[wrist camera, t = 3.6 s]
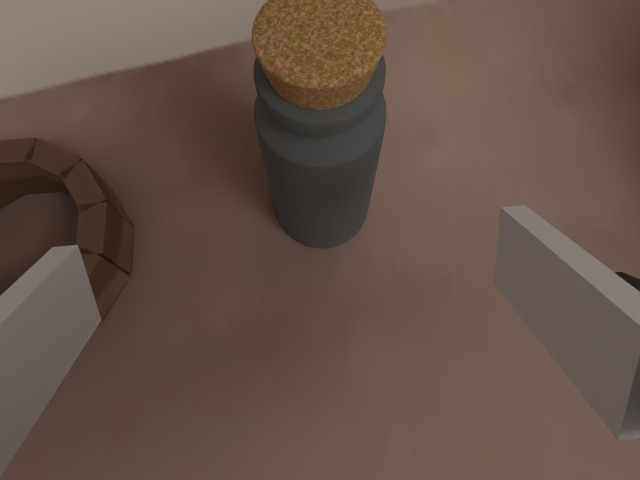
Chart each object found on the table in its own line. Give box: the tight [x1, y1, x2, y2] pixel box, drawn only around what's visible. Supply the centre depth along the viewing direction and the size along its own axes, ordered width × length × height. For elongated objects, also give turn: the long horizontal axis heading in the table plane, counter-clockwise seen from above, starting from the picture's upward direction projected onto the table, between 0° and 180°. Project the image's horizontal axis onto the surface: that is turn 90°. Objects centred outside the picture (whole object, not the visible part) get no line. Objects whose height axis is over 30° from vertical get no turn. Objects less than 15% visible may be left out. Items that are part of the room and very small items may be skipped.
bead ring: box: [0, 138, 134, 324], centre depth 28 cm, size 12×12×4 cm
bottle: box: [252, 0, 387, 248], centre depth 23 cm, size 6×6×15 cm
